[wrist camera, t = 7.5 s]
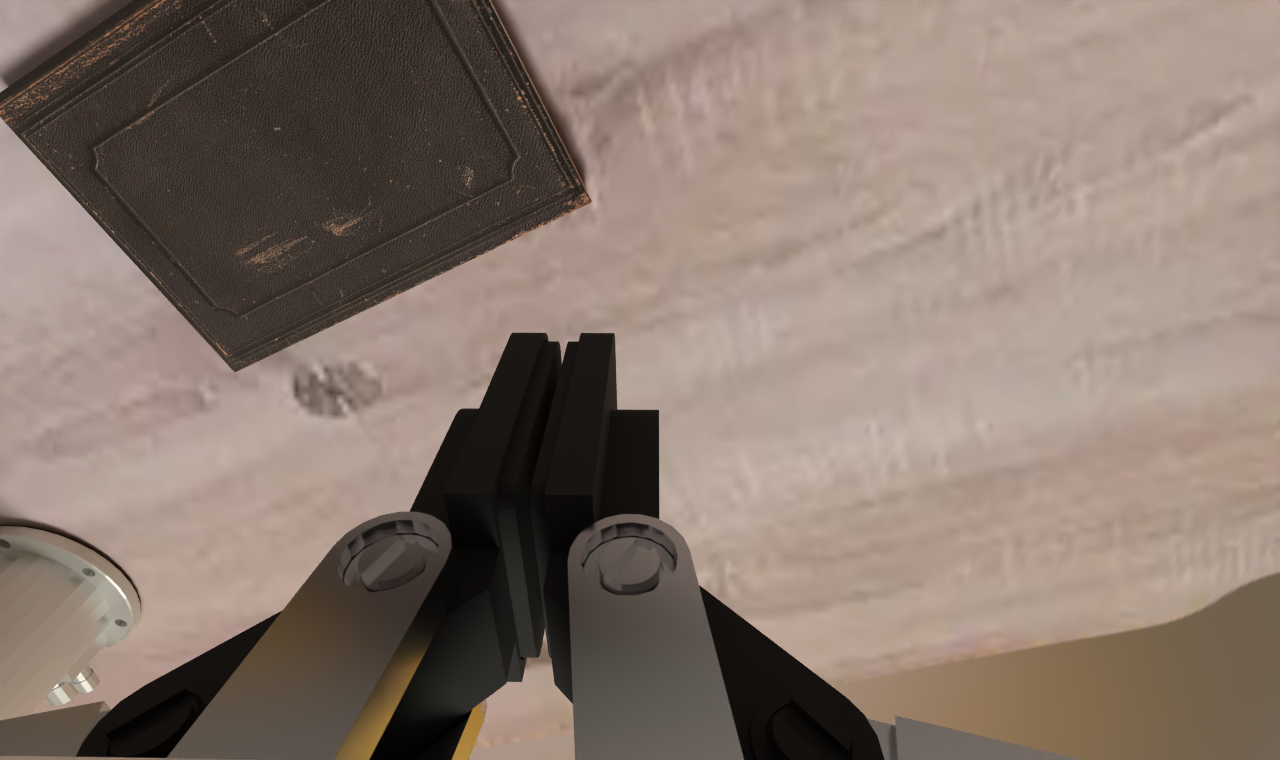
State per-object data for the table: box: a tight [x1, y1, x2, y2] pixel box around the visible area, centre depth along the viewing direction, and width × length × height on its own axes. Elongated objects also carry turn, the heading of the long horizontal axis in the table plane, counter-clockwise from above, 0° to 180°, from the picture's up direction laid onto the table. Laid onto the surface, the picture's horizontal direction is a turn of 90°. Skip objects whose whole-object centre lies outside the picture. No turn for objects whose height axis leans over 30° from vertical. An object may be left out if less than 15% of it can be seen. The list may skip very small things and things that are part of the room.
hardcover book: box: [0, 0, 591, 372], centre depth 31 cm, size 16×23×2 cm
